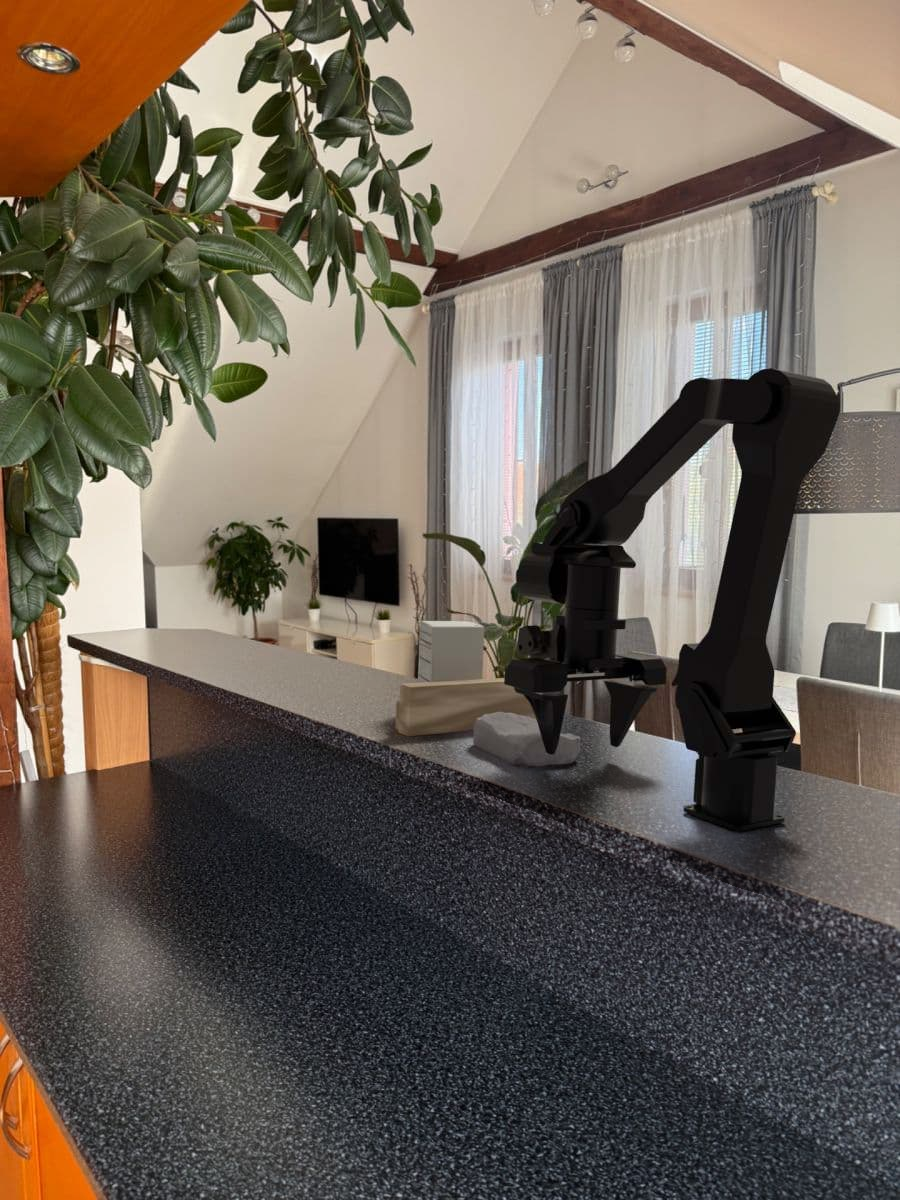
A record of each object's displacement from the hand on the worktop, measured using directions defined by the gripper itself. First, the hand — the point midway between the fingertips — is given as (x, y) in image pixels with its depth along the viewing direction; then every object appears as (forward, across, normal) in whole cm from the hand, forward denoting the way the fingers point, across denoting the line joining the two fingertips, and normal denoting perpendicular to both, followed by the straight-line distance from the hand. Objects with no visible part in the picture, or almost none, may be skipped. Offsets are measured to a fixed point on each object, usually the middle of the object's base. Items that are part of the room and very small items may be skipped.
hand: (583, 750), depth 100 cm
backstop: (+2, 0, -20) cm, 21 cm away
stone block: (+2, +2, -7) cm, 7 cm away
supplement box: (+2, -1, -29) cm, 29 cm away
